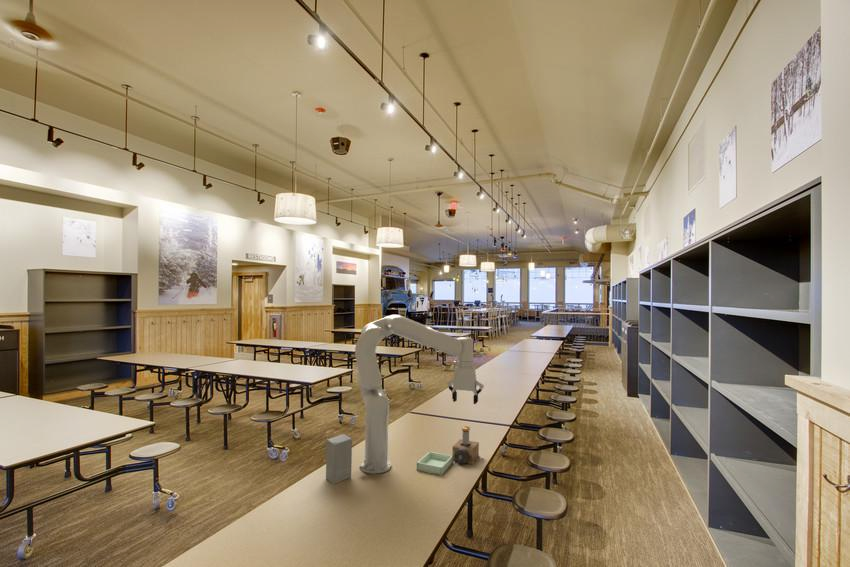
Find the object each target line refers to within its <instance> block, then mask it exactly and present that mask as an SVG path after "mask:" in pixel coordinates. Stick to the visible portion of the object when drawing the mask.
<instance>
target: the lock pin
mask: <svg viewBox="0 0 850 567" xmlns="http://www.w3.org/2000/svg"><path fill="white" fill-rule="evenodd" d="M470 430H471V427H470V426H465V425H464V426H461V431H462V439H461V440H462V446H467V447H469V441H470Z"/></svg>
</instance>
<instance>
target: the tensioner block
mask: <svg viewBox="0 0 850 567" xmlns="http://www.w3.org/2000/svg"><path fill="white" fill-rule="evenodd" d="M479 444H480V443H479V442H478V441H473V440H469V447H467V446H462V439H459V440H458V441H457V442H455V443H454V445H452V456H453V462H456V463H458V464H459V465H465V464H468V465H473V464H474V462H475V461H476V460H477V459H478V457H479V455H480V454H479V449H480V446H479Z"/></svg>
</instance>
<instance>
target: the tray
mask: <svg viewBox="0 0 850 567" xmlns="http://www.w3.org/2000/svg"><path fill="white" fill-rule="evenodd" d="M453 463H454V461H453V455H450V454H445V453H439V452H435V451H428V452H427V453H426V454H425V455H423V456H422V457H421V458H420V459H419V460H418V461H417V462H416V470H417V471H420V472H425V473H430V474H435V475H439V476H442V475H444V473H446V471H447V470H448V469H449V468H450V467H451V466H452V464H453Z"/></svg>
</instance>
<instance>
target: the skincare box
mask: <svg viewBox="0 0 850 567" xmlns="http://www.w3.org/2000/svg"><path fill="white" fill-rule="evenodd" d="M325 450H326V452H325V453H326V457H325V458H326V459H325V460H326V461H325V479H326V480H327V481H329V482H330V483H332V484H334V485H335V484H338V483H340V482H343V481H344V480H346V479H350V478H351V477H352V462H353V460H352V456H353V438H351V437H350V436H348V435H347V434H344V433H342V434H340V435H337V436H334V437H331V438H327V439H326V449H325Z"/></svg>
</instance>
